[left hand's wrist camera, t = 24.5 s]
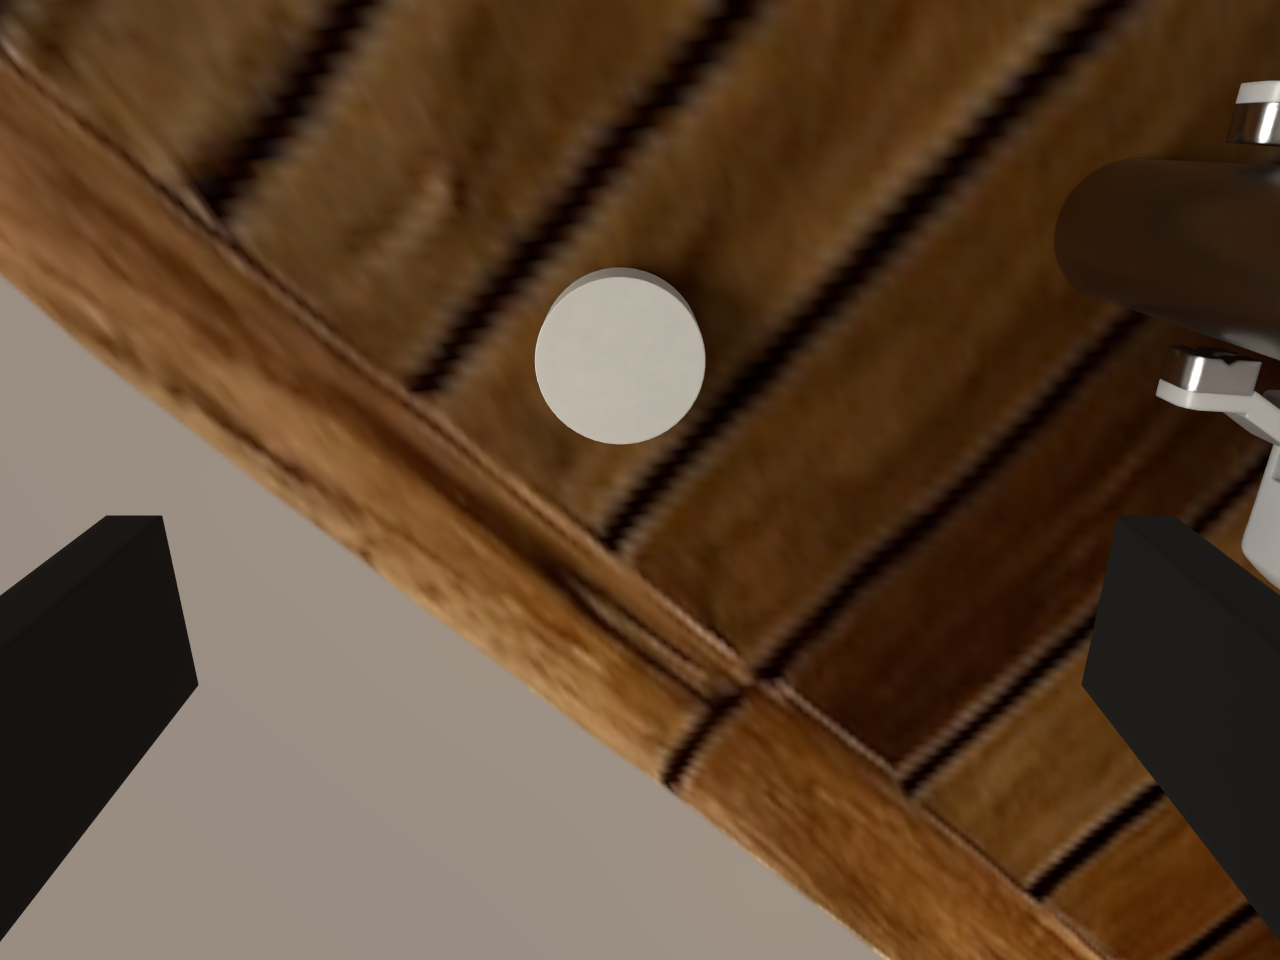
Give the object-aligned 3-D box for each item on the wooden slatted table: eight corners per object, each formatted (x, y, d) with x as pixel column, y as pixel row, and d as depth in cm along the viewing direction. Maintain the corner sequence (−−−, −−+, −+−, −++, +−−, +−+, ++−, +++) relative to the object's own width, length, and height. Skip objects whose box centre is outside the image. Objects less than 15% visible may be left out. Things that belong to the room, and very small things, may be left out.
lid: (516, 300, 31) (508, 312, 29) (669, 243, 30) (672, 251, 28) (575, 445, 33) (571, 466, 31) (721, 394, 32) (727, 412, 30)
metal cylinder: (1199, 270, 31) (1694, 387, 17) (1067, 317, 31) (1437, 468, 17) (1179, 137, 29) (1706, 139, 15) (1041, 188, 30) (1424, 236, 16)
